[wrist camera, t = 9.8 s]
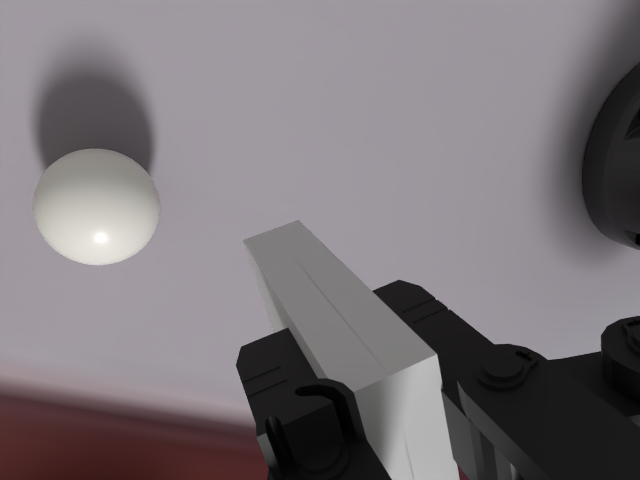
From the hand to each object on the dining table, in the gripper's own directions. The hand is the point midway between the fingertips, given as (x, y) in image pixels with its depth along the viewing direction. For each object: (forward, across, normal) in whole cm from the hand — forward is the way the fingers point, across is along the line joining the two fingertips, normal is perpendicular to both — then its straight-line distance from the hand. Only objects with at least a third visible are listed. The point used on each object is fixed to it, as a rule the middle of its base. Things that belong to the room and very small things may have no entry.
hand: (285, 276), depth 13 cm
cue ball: (+14, +6, 0) cm, 15 cm away
